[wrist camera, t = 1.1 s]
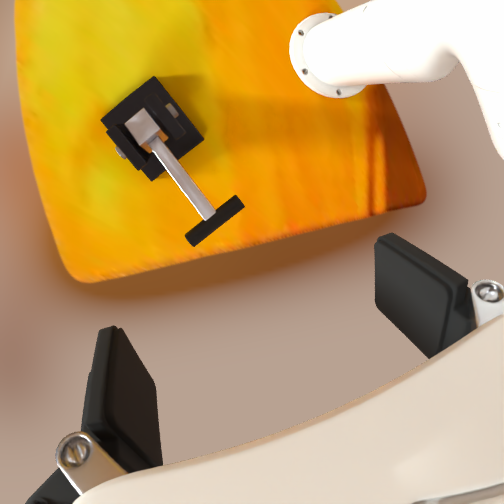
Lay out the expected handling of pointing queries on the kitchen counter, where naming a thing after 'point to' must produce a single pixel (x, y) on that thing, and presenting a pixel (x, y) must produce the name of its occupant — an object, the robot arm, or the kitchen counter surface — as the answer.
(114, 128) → the bracket
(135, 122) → the lever
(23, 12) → the kitchen counter surface
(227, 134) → the kitchen counter surface
